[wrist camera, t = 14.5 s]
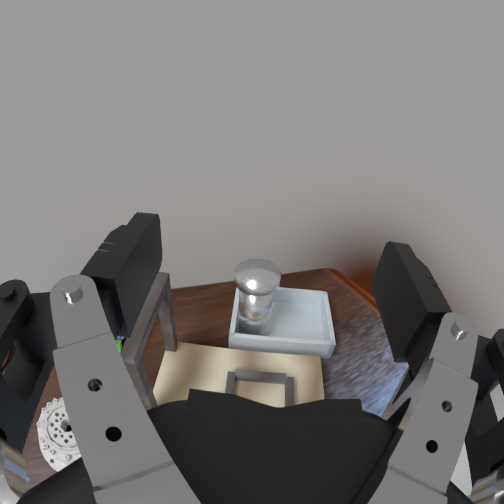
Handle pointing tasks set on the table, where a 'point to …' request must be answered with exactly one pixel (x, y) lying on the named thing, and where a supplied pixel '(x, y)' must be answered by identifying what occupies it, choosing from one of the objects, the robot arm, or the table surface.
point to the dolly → (214, 364)
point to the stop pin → (256, 295)
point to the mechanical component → (57, 436)
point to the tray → (291, 325)
